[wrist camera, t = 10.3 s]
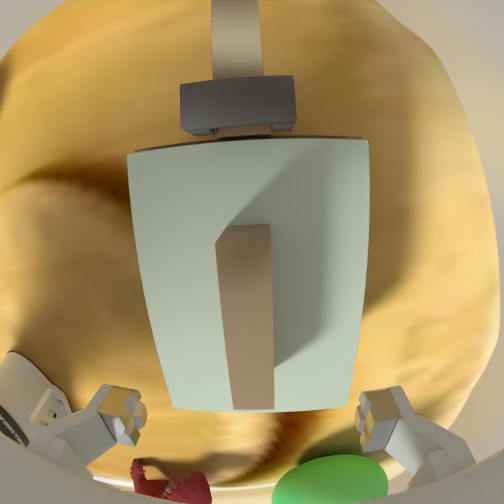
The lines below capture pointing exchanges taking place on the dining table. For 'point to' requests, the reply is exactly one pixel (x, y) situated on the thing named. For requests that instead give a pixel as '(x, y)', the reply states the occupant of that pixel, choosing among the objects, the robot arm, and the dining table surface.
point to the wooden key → (236, 39)
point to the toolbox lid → (254, 269)
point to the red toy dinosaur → (189, 492)
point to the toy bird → (332, 481)
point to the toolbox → (239, 109)
